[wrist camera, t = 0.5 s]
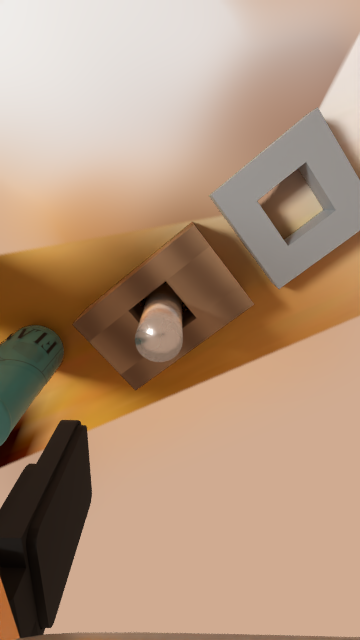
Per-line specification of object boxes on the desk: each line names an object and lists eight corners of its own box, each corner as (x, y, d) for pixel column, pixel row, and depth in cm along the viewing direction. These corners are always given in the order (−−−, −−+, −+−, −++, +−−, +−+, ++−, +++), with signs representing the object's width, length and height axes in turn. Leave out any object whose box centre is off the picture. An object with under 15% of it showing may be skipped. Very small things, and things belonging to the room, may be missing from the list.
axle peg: (162, 323, 41) (155, 370, 30) (140, 298, 40) (124, 337, 29) (188, 303, 40) (192, 343, 29) (166, 277, 39) (162, 308, 28)
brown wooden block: (140, 369, 43) (135, 390, 38) (84, 310, 40) (72, 324, 36) (245, 292, 40) (254, 304, 35) (192, 221, 37) (194, 224, 32)
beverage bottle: (77, 331, 41) (-9, 441, 22) (60, 376, 43) (-32, 512, 24) (24, 310, 40) (-113, 405, 21) (9, 357, 42) (-128, 483, 23)
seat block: (271, 282, 39) (279, 289, 36) (208, 195, 36) (211, 195, 33) (364, 214, 37) (380, 215, 34) (306, 115, 34) (317, 107, 31)
